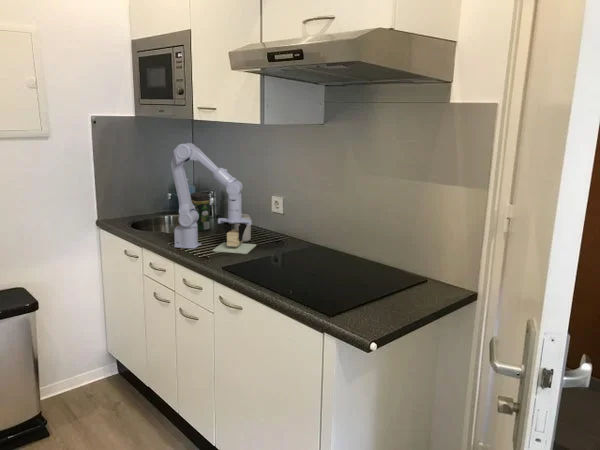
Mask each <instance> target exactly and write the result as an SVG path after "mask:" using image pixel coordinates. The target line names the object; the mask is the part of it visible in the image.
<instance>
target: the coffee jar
mask: <svg viewBox="0 0 600 450" xmlns="http://www.w3.org/2000/svg"><path fill="white" fill-rule="evenodd" d="M190 196H191V201H192V203H193V205H194V206H195V209H196V211H197V212H198V214H199V219H198V221H197V222H196V223H197V225H198V231H199V232H200V231H202V232H205V231H208V230H210V229H211V222H210V195H209V194H208V193H203V192H201V191H195V192H191V193H190Z"/></svg>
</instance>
